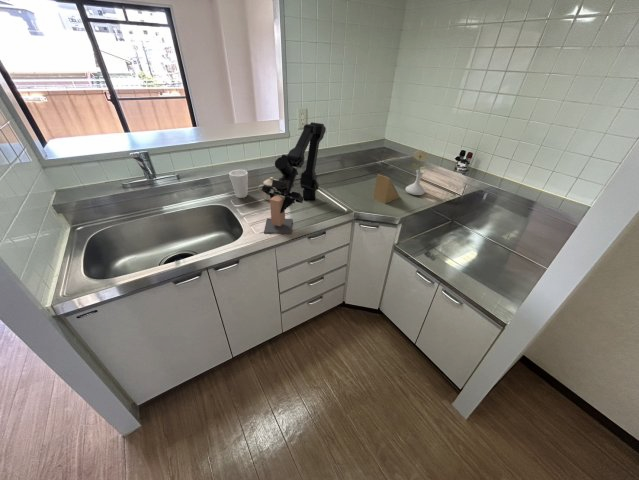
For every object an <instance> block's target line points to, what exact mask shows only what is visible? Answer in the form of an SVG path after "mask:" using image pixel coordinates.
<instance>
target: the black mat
mask: <svg viewBox="0 0 639 480" xmlns="http://www.w3.org/2000/svg"><path fill="white" fill-rule="evenodd" d="M292 221H293V219H292V218H285V222H284V223H283V224H282V225H281V226H277V225H273V224H272V222H271V218H266V221H265V225H264V231H263V234H271V233H281V235H282V234H285V235H287V234H288V235H289V234H290V235H291V234H292V224H293V222H292Z"/></svg>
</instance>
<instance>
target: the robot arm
mask: <svg viewBox="0 0 639 480" xmlns="http://www.w3.org/2000/svg"><path fill="white" fill-rule="evenodd" d="M326 129H327V128H326V126H325V124H324V123H319V122H313V121H312V122H310V124H309V123H306V124H304V126H303V130H302V133H301V134H300V136H299V138H298V140H297V142H296V144H295V146H294V147H293V148H292V149H290V150H289V152H288V153H287V154H282V155H281V156H280V157H278V158H277V159H276V160H275V161H274V167H275V169H277V170H278V171H279V173H280V174H281V175H282V176H281V177H279V179H276V180H273V181H272V187H275V188H276V189H277V190H275V189H273V188H272V187H271V186H268V185H264V186H261V187H262V188H261V191H262V192H265V193H266V194H267V195H270V199H271V198H272V197H274V196H275V195H276V196H277V195H280V197H284V203H283V205H282V208H281V211H280V213H283V212H284V211H285V212H286V210H287V209H288V208H289V207H290V206H291V205H293V204H295V202H296V203H300V204H303V201H305V202H306V201H311V202H314V201H316V192H317V191H318V190H319V188H320V186H319V185H320V184H319V181H318V180H317V174H316V166H317V159H318V154H319V148H320V143H321V141H322V140H323V139H324V137H325V134H326ZM307 148H308V154H307V158H306V166H305V170H304V171H303V172H301V175H300V178H299V184H300V188H301V189H302V194H301V193H300V192H297V191H292V188H294V186H295V184H294V182H295V180H296V177H297V176H299V172H298V169H297V168H302V167H303V166H304V163H305V153H306V151H307ZM278 180H279V181H278Z"/></svg>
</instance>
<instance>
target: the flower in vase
mask: <svg viewBox="0 0 639 480" xmlns="http://www.w3.org/2000/svg"><path fill="white" fill-rule="evenodd" d="M413 157H414V159H415V160H417V163H412V164H411V166H412V167H414V168H417V169H416V170H415V171H416V179H415V182H413V183H411V184H409V185H407V186H406V187H405V191H406V193H408V194H410V195H413V196H422V195H424V194H425V193H426V191H425V189H424V187H423V186H422V185H421V183H420V181H421V178H422V176H423V175H424V174H425V172H426V171H425V170H423V169H425V168H427V166H426V165H425V166H421V167H419V162H426V161H427V160H428V158H429V156H428V154H427V152H425V151H424V150H422V149H421V150H420V149H419V150H416V151H415V152H414V153H413Z"/></svg>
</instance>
